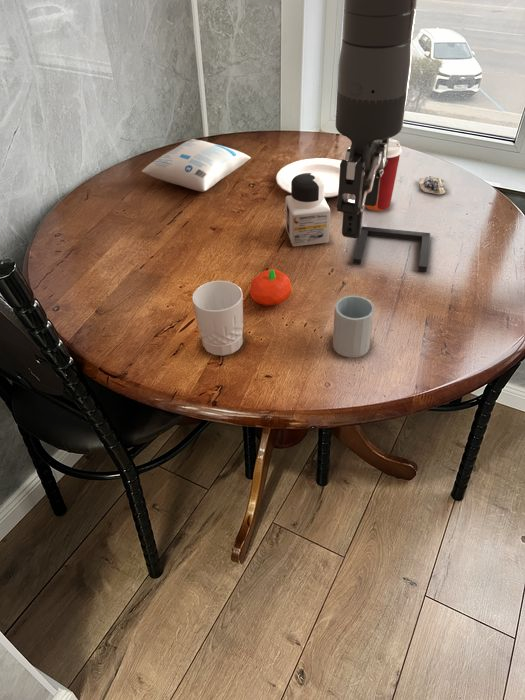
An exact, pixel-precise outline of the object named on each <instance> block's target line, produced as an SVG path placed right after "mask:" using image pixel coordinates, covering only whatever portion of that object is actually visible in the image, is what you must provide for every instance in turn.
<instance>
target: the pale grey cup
mask: <svg viewBox="0 0 525 700" xmlns="http://www.w3.org/2000/svg"><path fill="white" fill-rule="evenodd" d="M375 309H376V308H375V305H374V303H373V302H372V301H371V300H370V299H368V298H367V297H364V296H361V295H354V294H353V295H345V296H343V297H341V298H339V299H338V300H337V301H336V302H335V305H334V314H333V330H332V348H333V350H334V351H335V352H336V353H337V354H339V355H341V356H342V357H345V358H350V359H351V358H359V357H363V356H364V355H366V354H367V353H368V352H369V350H370V346H371V338H372V330H373V324H374V315H375Z"/></svg>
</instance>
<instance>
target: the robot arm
mask: <svg viewBox="0 0 525 700" xmlns="http://www.w3.org/2000/svg"><path fill="white" fill-rule="evenodd" d="M416 8H417V0H343V14H342V15H343V18H342V35H341V37H342V39H341V47H340V52H339V58H338V66H337V87H336V104H335V105H336V107H335V108H336V109H335V129H336V130H337V132H338V133H339V134H340V135H341V136H343V137H346V138H347V139H349V140H350V142H351V144H350V147H347V149H346V152H345V156H344V158H342V159H341V160H340V161H341V163H340V177H339V190H338V196H337V204H336V211H337V212H340V213H342V224H341V225H342V227H341V235H342V236H343V237H345V238H350V239H356V240H358V239H359V236H360V234H361V228H362V226H363V213H364V209H365V207H366V206H365V205H368V206H375V205H376V204H377V202H378V194H379V185H380V178H378V177H382V175H383V172H384V171H383V169H384V167H385V166H386V164H387V153H388V144H389V138H390V139H392V138H394V137H396V136H397V135H398V134H400V132H402V129H403V127H404V121H405V112H406V105H407V98H408V97H407V96H408V91H409V90H408V89H409V81H410V75H411V66H412V42H413V34H414V33H413V32H414V27H415V26H414V24H415V19H416V18H415V17H416V10H417V9H416ZM350 195H352V196H354V199H350Z"/></svg>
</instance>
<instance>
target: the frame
mask: <svg viewBox="0 0 525 700" xmlns="http://www.w3.org/2000/svg"><path fill="white" fill-rule="evenodd" d="M368 236H370V237H379V238H389V239H397V240H408V241H416V242H417V241H418V242H420V249H419V250H420V251H419V261H418V269H417V271H418V272H422V273H427V270H428V264H429V263H428V262H429V250H430V238H431V237H430V236H431V232H425V231H424V232H423V231H422V232H421V231H415V230H403V229H393V228H382V227H373V226H363V225H362V226H361V234H360V236H359V238H357V244H356V248H355V251H354V256H353V259H352V260H353V261H352V264H353V265H362V262H363V261H362V260H363V256H364V251H365V247H366V244H367V239H368Z"/></svg>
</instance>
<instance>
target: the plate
mask: <svg viewBox="0 0 525 700" xmlns="http://www.w3.org/2000/svg"><path fill="white" fill-rule="evenodd" d="M341 161H342V160H338V159H333V158H332V159H331V158H323V157H321V158H318V157H317V158H316V157H315V158H306V159H305V158H304V159H300V160H296V161H293V162H291V163H288V164H286V165H285V166H283V167H282V168H280V170H279V171H278V172H277V173H276V176H275V181H276V183H277V186H278V187H279V188H280V189H281V190H283V191H285V192H286V193H288V194H290V195H291V181H292V179H293V178H294V177H295V176H297V175H299V174H303V173H313V174H317V175H320V176H321V177H322V178H323V179H324V181H325V184H324V199H332V198H336V197H337V198H338V190H339V177H340V163H341Z"/></svg>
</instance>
